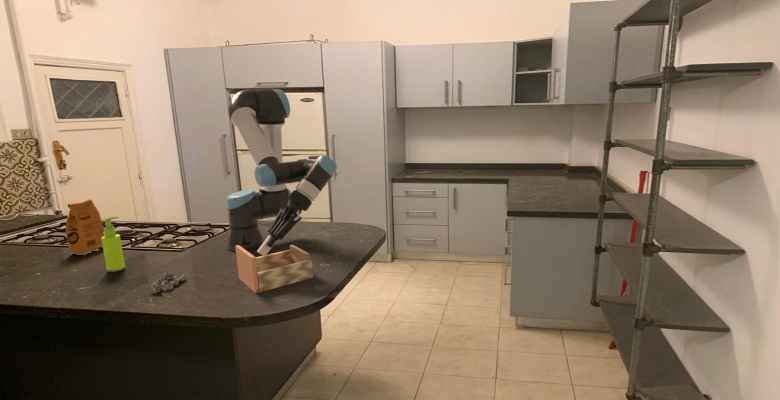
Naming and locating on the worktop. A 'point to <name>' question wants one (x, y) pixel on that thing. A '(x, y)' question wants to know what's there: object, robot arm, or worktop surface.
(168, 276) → the egg carton
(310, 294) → the worktop surface
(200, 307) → the worktop surface
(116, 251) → the soap dispenser
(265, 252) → the robot arm
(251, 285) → the panel
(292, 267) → the wooden open box
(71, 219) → the coffee package
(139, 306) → the worktop surface
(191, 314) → the worktop surface
